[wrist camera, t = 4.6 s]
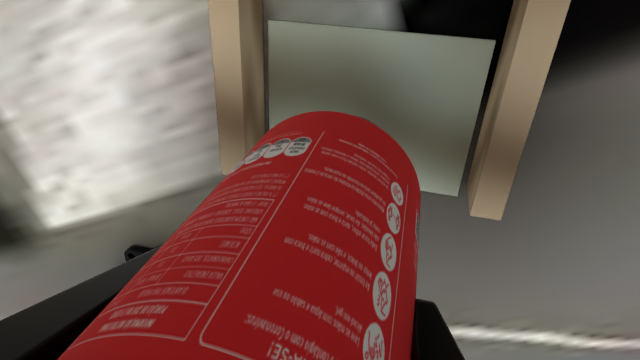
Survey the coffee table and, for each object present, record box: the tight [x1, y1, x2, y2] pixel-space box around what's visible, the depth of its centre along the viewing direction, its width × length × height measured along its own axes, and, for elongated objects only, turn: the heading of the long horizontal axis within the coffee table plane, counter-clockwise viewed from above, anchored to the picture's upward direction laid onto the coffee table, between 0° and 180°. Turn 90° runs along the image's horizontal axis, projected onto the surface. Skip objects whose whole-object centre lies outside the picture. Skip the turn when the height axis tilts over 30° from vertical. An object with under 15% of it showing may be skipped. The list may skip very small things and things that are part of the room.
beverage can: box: [57, 111, 420, 360], centre depth 8 cm, size 5×5×12 cm
